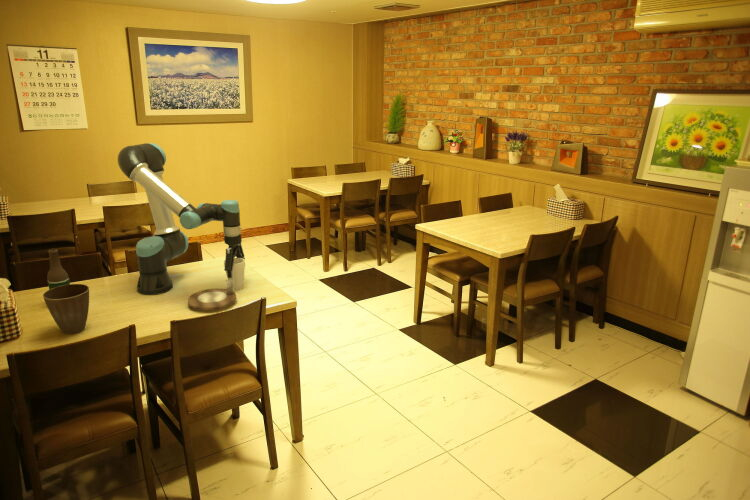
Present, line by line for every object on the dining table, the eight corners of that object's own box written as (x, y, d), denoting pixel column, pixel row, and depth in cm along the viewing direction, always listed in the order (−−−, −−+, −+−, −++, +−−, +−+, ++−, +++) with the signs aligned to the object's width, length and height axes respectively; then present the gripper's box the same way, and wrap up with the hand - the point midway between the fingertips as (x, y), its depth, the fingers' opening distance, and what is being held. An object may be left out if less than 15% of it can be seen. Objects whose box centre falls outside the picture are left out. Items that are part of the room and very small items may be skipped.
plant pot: (58, 343, 185) (50, 302, 180) (44, 330, 194) (36, 291, 190) (101, 329, 196) (95, 291, 191) (86, 318, 205) (80, 280, 200)
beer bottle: (53, 301, 220) (43, 248, 213) (74, 298, 223) (64, 246, 216) (50, 308, 213) (40, 253, 206) (71, 305, 216) (62, 251, 209)
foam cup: (241, 292, 233) (239, 265, 229) (222, 290, 235) (220, 263, 231) (249, 284, 242) (248, 258, 238) (231, 282, 244) (229, 256, 240)
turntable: (195, 314, 207) (194, 297, 205) (182, 297, 223) (180, 281, 220) (243, 303, 218) (242, 287, 216) (227, 288, 234) (226, 273, 231)
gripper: (231, 242, 219) (235, 288, 225) (249, 227, 242) (252, 269, 249) (214, 242, 219) (218, 288, 226) (233, 227, 243) (237, 269, 249)
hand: (236, 278), depth 237 cm, fingers open, 13 cm apart
